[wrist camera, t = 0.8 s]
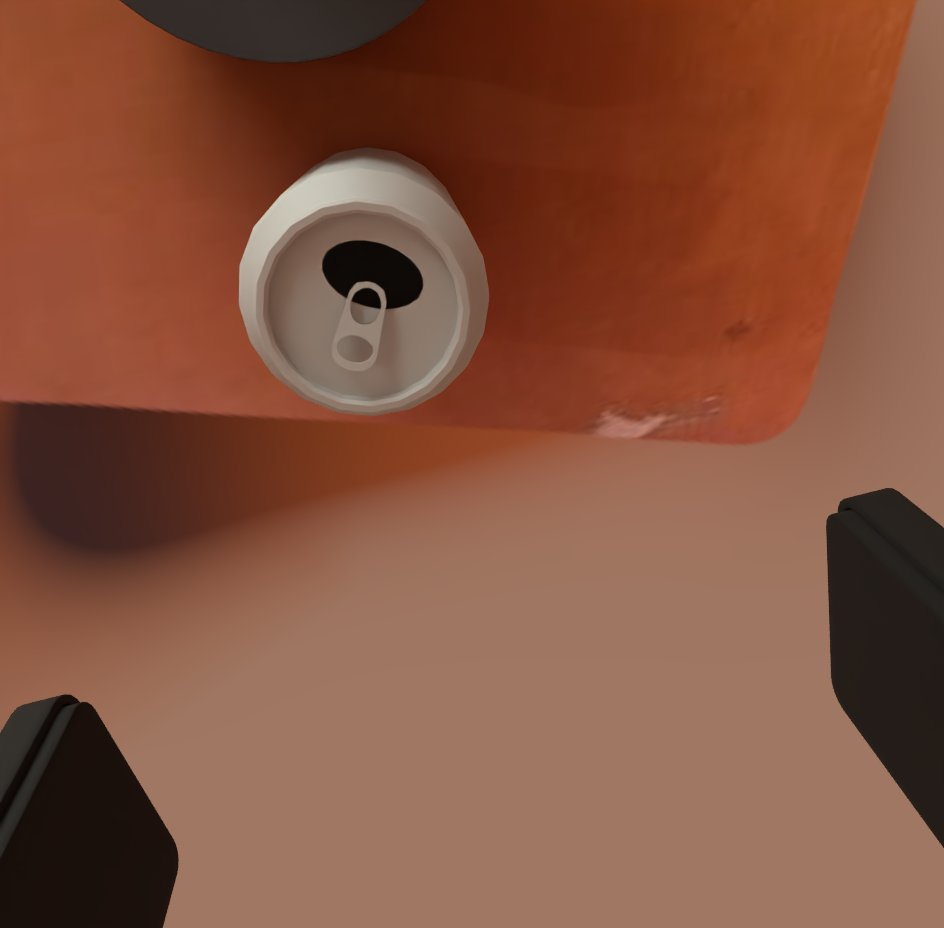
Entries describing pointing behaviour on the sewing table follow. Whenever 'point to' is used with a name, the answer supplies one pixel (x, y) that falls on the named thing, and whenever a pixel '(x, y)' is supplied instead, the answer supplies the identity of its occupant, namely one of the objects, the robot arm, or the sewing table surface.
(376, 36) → the pot lid
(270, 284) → the can
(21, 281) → the sewing table surface
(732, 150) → the sewing table surface
